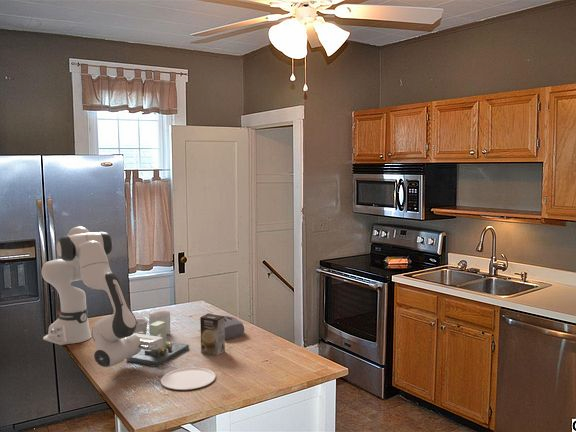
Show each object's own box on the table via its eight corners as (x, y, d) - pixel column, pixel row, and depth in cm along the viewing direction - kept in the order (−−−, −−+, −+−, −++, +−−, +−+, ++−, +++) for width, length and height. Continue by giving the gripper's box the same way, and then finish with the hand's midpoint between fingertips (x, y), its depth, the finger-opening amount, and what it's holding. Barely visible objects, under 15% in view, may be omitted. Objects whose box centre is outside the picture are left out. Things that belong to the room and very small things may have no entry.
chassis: (126, 361, 222) (126, 349, 221) (159, 344, 242) (159, 333, 242) (157, 366, 216) (157, 354, 215) (188, 349, 236) (188, 338, 235)
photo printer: (168, 331, 260) (168, 307, 259) (172, 334, 256) (171, 309, 255) (148, 335, 254) (147, 310, 253) (151, 338, 251) (150, 312, 249)
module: (150, 352, 227) (149, 324, 225) (158, 347, 232) (157, 320, 231) (157, 353, 225) (156, 325, 224) (166, 348, 230) (165, 322, 229)
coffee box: (200, 352, 231) (199, 317, 229) (208, 348, 236) (207, 313, 235) (218, 356, 227) (217, 319, 225) (225, 351, 233) (225, 315, 231)
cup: (125, 342, 245) (125, 325, 244) (122, 337, 252) (122, 321, 251) (149, 338, 250) (148, 322, 249) (145, 333, 257) (145, 317, 256)
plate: (219, 388, 196) (219, 384, 195) (162, 395, 190) (162, 392, 189) (211, 367, 215) (211, 364, 215) (159, 373, 209) (158, 370, 209)
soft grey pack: (248, 335, 253) (227, 325, 269) (248, 318, 253) (227, 309, 269) (221, 342, 244) (201, 331, 260) (220, 324, 244) (200, 314, 260)
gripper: (150, 340, 207) (171, 330, 219) (109, 334, 215) (132, 325, 227) (151, 356, 207) (172, 345, 220) (110, 349, 215) (133, 339, 228)
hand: (151, 334), depth 224 cm, fingers open, 8 cm apart
